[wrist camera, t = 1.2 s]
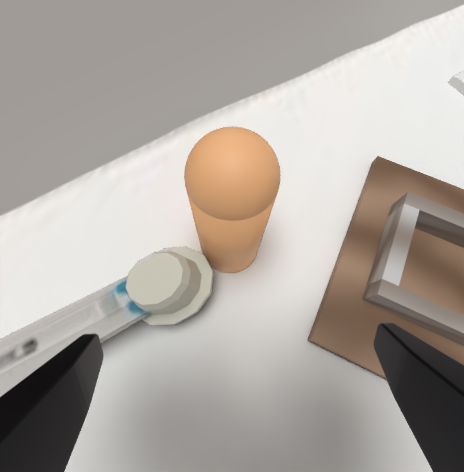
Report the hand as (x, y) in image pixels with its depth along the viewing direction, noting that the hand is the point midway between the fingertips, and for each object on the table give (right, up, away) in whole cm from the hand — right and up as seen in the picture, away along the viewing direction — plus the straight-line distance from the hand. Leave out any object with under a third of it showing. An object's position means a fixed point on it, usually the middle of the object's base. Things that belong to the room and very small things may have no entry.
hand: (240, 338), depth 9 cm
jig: (+16, 0, +15) cm, 21 cm away
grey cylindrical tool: (-13, -5, +12) cm, 19 cm away
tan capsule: (0, +2, +15) cm, 15 cm away
